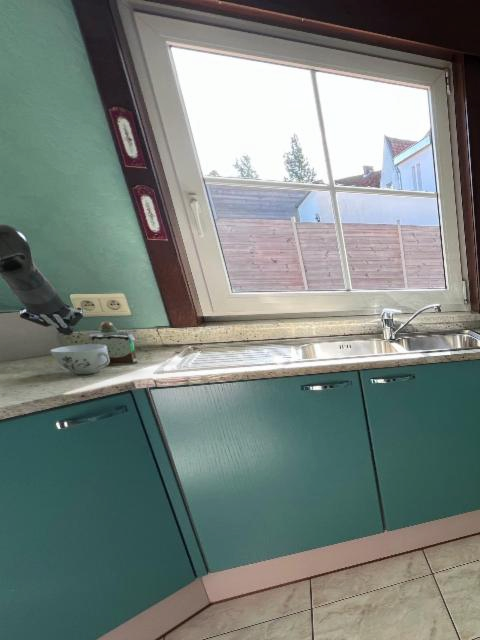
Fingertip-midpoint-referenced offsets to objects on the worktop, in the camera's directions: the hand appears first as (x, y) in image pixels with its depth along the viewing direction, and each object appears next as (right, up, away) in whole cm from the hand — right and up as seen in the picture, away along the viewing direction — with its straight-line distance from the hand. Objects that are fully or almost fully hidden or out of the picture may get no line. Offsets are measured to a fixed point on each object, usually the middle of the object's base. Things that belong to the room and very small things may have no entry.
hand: (67, 332), depth 142 cm
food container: (-11, -4, +28) cm, 31 cm away
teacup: (-8, -10, +14) cm, 18 cm away
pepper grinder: (-23, +1, +38) cm, 45 cm away
